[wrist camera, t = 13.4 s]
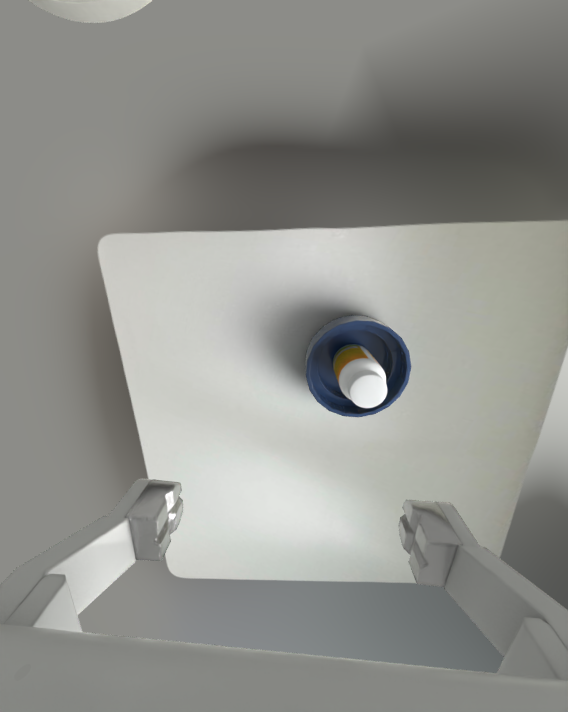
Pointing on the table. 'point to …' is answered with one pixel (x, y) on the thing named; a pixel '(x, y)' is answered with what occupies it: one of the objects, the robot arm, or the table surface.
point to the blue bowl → (371, 337)
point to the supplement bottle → (360, 376)
